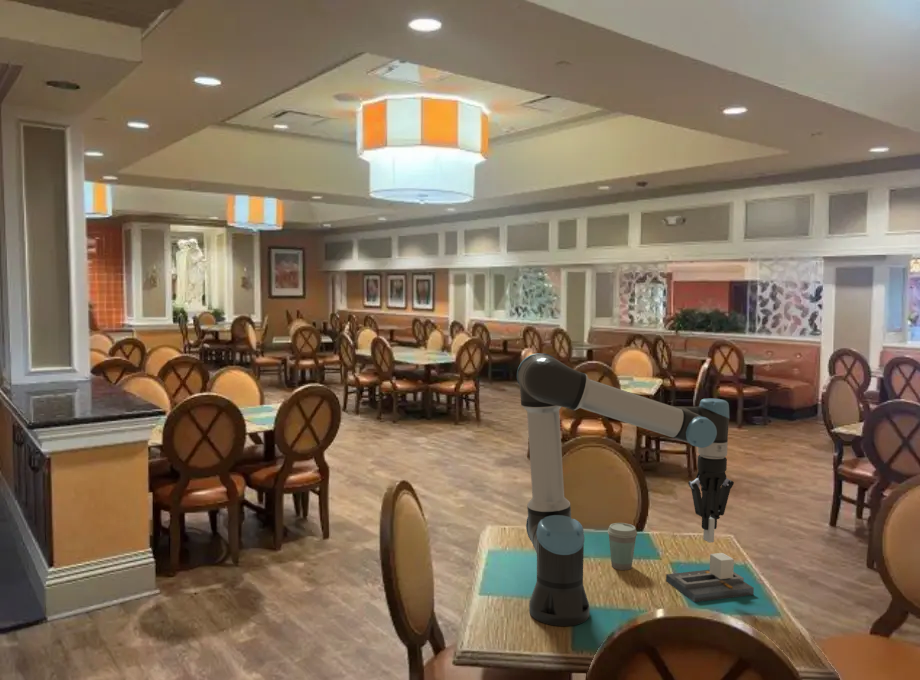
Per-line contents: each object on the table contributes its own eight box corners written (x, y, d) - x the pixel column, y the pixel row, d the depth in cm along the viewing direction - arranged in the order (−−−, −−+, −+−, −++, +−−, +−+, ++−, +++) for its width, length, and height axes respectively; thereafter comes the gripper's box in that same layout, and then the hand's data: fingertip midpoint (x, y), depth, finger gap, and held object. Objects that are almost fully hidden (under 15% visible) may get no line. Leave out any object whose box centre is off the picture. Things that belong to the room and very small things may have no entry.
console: (694, 602, 190) (694, 591, 190) (666, 581, 204) (666, 570, 204) (753, 594, 195) (753, 584, 195) (721, 574, 208) (722, 564, 208)
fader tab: (720, 583, 197) (721, 560, 197) (709, 576, 202) (710, 554, 202) (733, 582, 198) (733, 559, 198) (721, 575, 203) (722, 552, 203)
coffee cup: (636, 573, 209) (638, 532, 209) (606, 570, 211) (607, 530, 210) (635, 562, 218) (636, 523, 217) (606, 559, 220) (607, 521, 219)
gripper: (699, 460, 191) (695, 547, 193) (741, 458, 195) (737, 543, 196) (683, 453, 199) (679, 537, 200) (724, 451, 202) (720, 534, 204)
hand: (708, 540), depth 198 cm, fingers closed
